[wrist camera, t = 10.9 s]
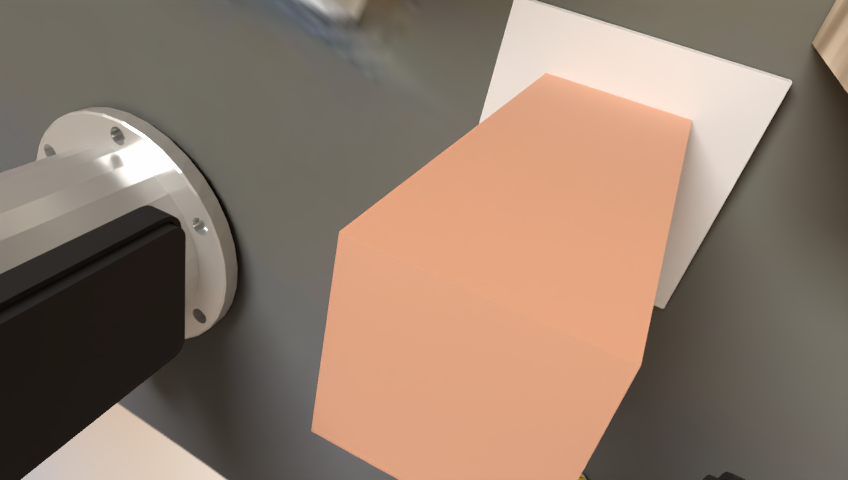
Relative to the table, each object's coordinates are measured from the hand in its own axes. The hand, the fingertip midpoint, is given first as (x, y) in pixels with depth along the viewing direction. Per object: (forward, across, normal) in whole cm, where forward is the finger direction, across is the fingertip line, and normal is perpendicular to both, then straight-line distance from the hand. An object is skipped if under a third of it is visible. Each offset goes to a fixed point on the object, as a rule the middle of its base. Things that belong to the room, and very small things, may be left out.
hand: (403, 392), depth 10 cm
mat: (+12, -1, -1) cm, 12 cm away
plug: (+12, -1, -1) cm, 12 cm away
